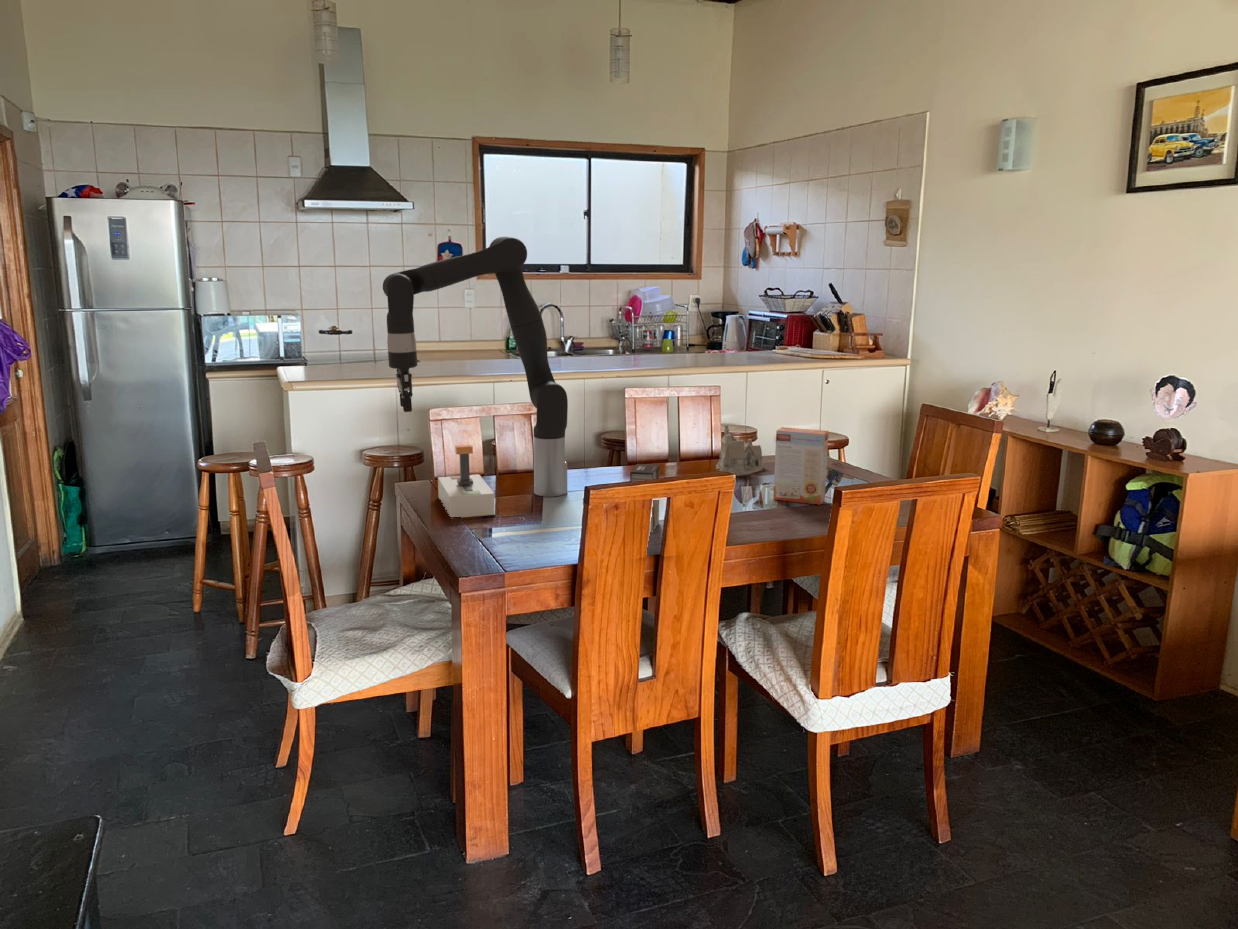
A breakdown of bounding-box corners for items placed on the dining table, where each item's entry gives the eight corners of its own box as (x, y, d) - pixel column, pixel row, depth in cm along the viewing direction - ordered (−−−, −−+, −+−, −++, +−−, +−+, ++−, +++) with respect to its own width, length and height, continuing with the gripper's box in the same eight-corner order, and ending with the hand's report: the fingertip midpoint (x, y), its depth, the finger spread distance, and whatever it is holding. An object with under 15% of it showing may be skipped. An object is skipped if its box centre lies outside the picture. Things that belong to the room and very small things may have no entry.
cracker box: (825, 500, 269) (829, 430, 264) (820, 506, 264) (824, 434, 259) (778, 495, 275) (781, 425, 270) (772, 500, 269) (776, 429, 264)
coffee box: (635, 521, 248) (636, 463, 244) (659, 523, 246) (660, 464, 243) (629, 531, 239) (629, 471, 235) (653, 533, 238) (654, 472, 234)
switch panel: (479, 494, 273) (479, 473, 271) (494, 514, 253) (494, 492, 251) (438, 497, 269) (437, 476, 268) (450, 518, 249) (449, 496, 247)
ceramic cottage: (717, 475, 297) (722, 429, 294) (714, 465, 313) (718, 421, 310) (766, 478, 297) (771, 432, 294) (760, 468, 313) (764, 424, 310)
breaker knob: (471, 481, 261) (470, 444, 259) (473, 484, 259) (472, 446, 256) (456, 483, 260) (455, 445, 257) (458, 485, 257) (456, 447, 255)
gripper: (419, 351, 243) (423, 412, 247) (413, 345, 256) (417, 403, 260) (390, 353, 241) (394, 414, 245) (385, 347, 254) (389, 405, 258)
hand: (406, 408), depth 253 cm, fingers open, 8 cm apart
